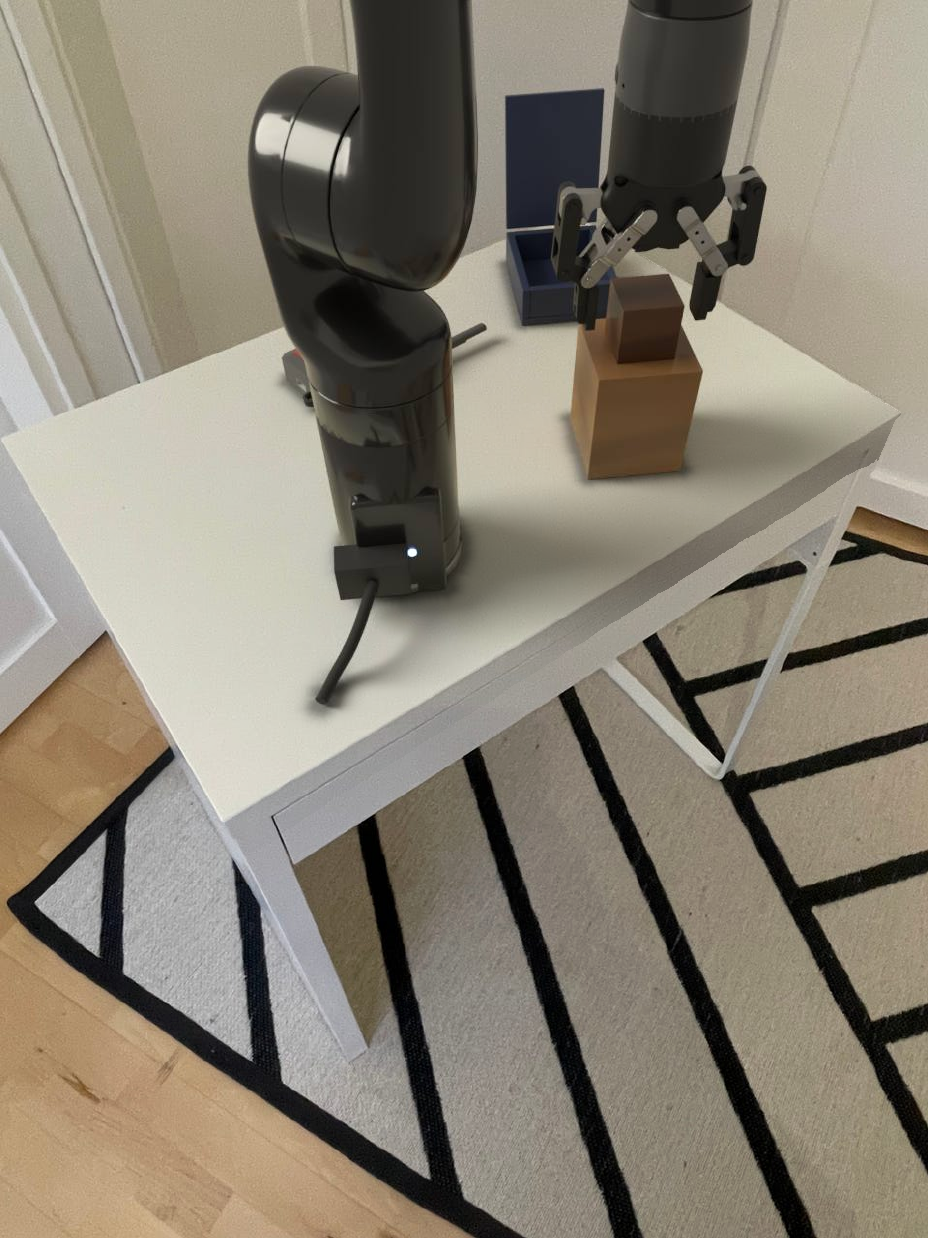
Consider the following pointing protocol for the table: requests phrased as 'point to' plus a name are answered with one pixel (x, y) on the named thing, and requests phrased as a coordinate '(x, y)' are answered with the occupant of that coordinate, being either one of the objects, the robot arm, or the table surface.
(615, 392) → the stand
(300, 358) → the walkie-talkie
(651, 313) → the block
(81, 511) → the table surface
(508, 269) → the navy jewelry box
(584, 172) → the cover
